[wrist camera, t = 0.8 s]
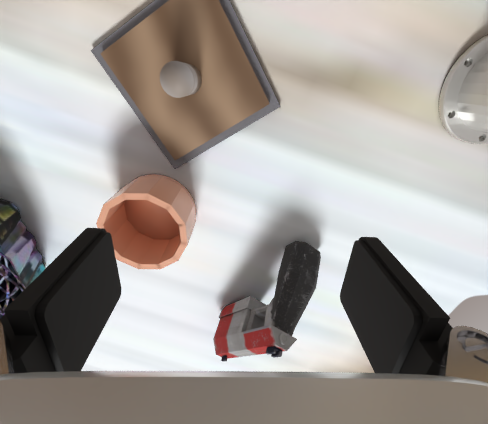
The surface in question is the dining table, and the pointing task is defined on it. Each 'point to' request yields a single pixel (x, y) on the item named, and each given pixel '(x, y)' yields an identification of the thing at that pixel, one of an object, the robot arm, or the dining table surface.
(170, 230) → the terracotta pot
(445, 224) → the dining table surface
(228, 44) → the walnut lid
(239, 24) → the charcoal tray
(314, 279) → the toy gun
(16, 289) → the decorative bowl
